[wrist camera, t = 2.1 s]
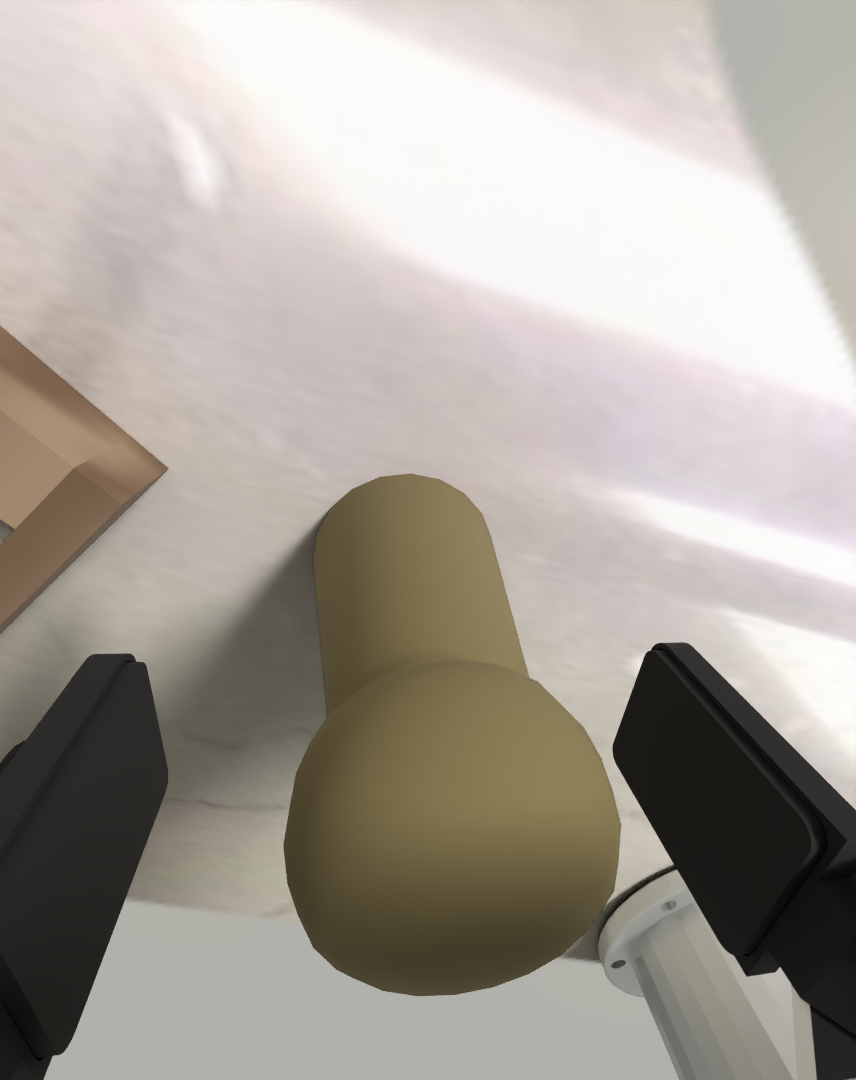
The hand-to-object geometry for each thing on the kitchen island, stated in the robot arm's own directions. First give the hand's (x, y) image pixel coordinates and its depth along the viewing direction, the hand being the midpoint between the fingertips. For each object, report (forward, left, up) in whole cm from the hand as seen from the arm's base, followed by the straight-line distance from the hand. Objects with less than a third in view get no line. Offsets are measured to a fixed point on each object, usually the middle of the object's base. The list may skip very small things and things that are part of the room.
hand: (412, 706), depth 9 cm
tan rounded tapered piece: (-1, 0, -8) cm, 8 cm away
